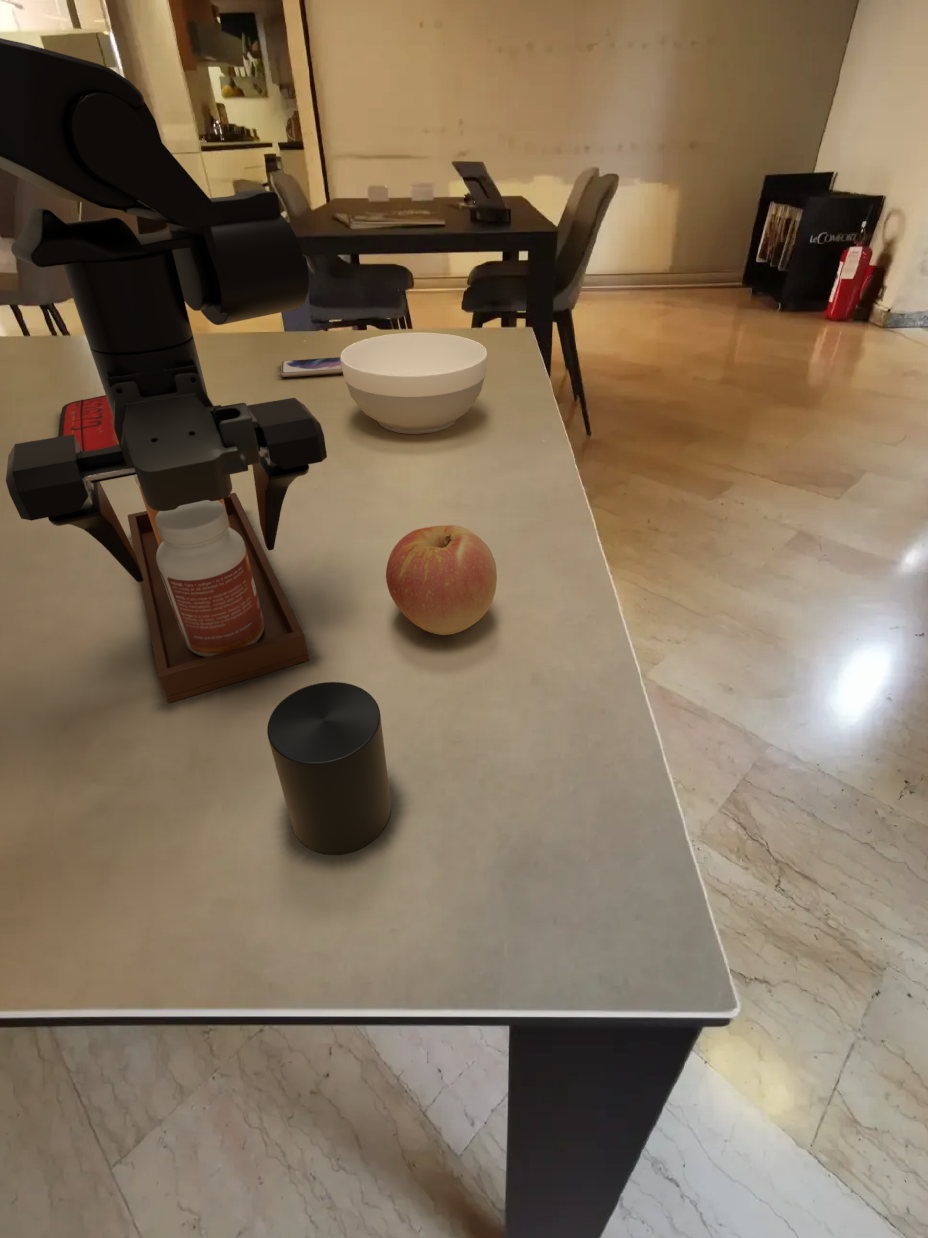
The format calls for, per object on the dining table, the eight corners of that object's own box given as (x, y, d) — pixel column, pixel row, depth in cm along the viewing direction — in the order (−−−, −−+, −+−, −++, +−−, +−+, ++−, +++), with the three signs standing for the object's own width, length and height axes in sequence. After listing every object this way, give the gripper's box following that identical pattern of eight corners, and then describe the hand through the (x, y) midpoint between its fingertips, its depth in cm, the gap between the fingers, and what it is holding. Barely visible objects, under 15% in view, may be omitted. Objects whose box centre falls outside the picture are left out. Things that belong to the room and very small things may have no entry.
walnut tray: (309, 660, 52) (304, 634, 50) (168, 703, 48) (158, 676, 46) (240, 514, 70) (235, 492, 68) (135, 537, 66) (127, 514, 65)
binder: (177, 377, 98) (195, 428, 82) (182, 393, 99) (200, 446, 84) (58, 398, 93) (54, 457, 78) (65, 415, 94) (62, 475, 79)
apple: (429, 667, 51) (424, 581, 46) (371, 611, 57) (361, 528, 52) (517, 625, 55) (521, 541, 50) (454, 576, 61) (453, 497, 56)
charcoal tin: (274, 842, 39) (246, 751, 34) (316, 764, 44) (296, 673, 39) (371, 864, 38) (356, 773, 33) (403, 781, 42) (395, 690, 37)
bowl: (336, 403, 96) (328, 339, 90) (461, 388, 100) (461, 327, 95) (362, 455, 81) (355, 383, 76) (507, 435, 86) (509, 366, 81)
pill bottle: (282, 632, 53) (254, 509, 47) (216, 672, 50) (175, 545, 43) (235, 603, 57) (202, 484, 50) (169, 639, 53) (125, 516, 46)
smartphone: (281, 360, 109) (373, 354, 111) (282, 366, 109) (373, 359, 112) (280, 373, 103) (377, 366, 105) (281, 379, 104) (377, 372, 106)
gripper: (-58, 412, 30) (69, 667, 40) (336, 354, 37) (364, 586, 46) (-37, 348, 38) (65, 574, 48) (285, 310, 45) (318, 516, 54)
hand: (207, 562), depth 49 cm, fingers open, 9 cm apart
